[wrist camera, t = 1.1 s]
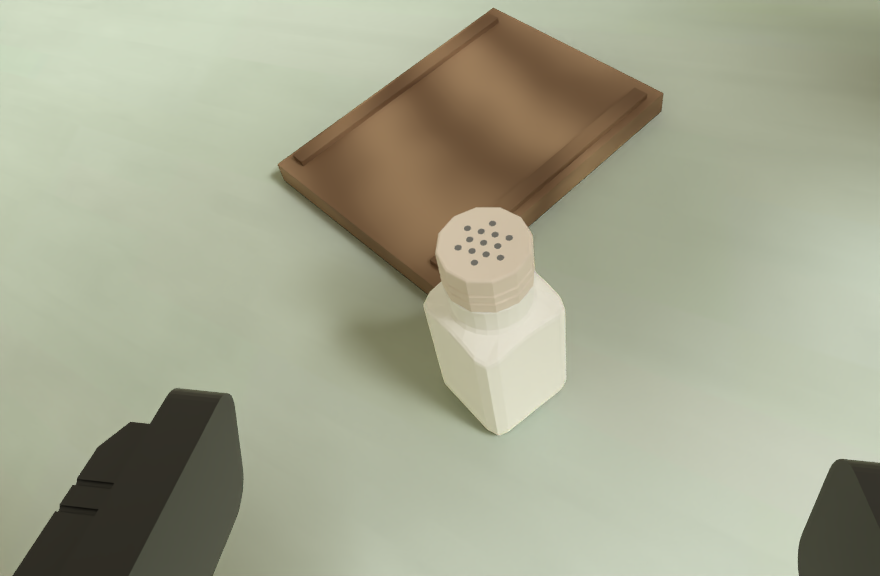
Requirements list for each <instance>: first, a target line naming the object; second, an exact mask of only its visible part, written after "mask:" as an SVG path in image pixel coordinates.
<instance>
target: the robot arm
mask: <svg viewBox="0 0 880 576" xmlns="http://www.w3.org/2000/svg"><path fill="white" fill-rule="evenodd" d="M242 491H243V466H242V459H241V451H240V443H239V436H238V428H237V420H236V413H235V406H234V401H233V398H232V396H231V395H230V394H228V393H219V392H209V391H199V390H190V389H180V388H176V389H173V390H172V391H171V392H170V393H169V394H168V396H167V397H166V399H165V400H164V402H163V404H162V405H161V407H160V408H159V410H158V412H157V413H156V415H155V417H154V418H153V420H152V422H151V423H150V424H145V423H136V422H130V423H128V424H127V425H126V426H125V427H123V428H122V429H121V430H119V431H118V432H117V433H116V434H114V435H113V436H112V437H110V438H109V439H108V440H106V441H105V442H104V443H103V444H101V445H100V446H99V447H98V448H97V449H96V451H95V452H94V454H93V455H92V457H91V458H90V460H89V461H88V463H87V464H86V466H85V467H84V469H83V470H82V472H81V473H80V475H79V476H78V478H77V483H76V485H72V487H71V488H70V490H69V491H68V493H67V494H66V496H65V497H64V499H63V500H62V502H61V503H60V509H59V511H58V512H56V511H55V513H54V514H53V516H52V517H51V519H50V520H49V522H48V523H47V525H46V526H45V528H44V529H43V531H42V532H41V534H40V535H39V537H38V538H37V540H36V541H35V543H34V544H33V546H32V547H31V549H30V550H29V552H28V553H27V555H26V556H25V558H24V559H23V561H22V562H21V564H20V565H19V567H18V568H17V570H16V571H15V573H14V575H13V576H213V573H214V571H215V568H216V566H217V563H218V561H219V559H220V556H221V554H222V551H223V549H224V547H225V544H226V542H227V539H228V537H229V534H230V532H231V530H232V527H233V525H234V522H235V520H236V517H237V514H238V511H239V507H240V503H241V498H242ZM798 571H799V576H880V463H876V462H866V461H856V460H847V459H839V460H836V461H835V462H834V463H833V464H832V466H831V468H830V470H829V472H828V474H827V476H826V479H825V481H824V483H823V486H822V488H821V491H820V493H819V495H818V498H817V500H816V502H815V505H814V507H813V509H812V512H811V514H810V516H809V519H808V521H807V524H806V526H805V528H804V531H803V533H802V536H801V539H800V543H799V549H798Z"/></svg>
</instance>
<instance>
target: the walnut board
mask: <svg viewBox="0 0 880 576" xmlns="http://www.w3.org/2000/svg"><path fill="white" fill-rule="evenodd" d="M662 101H663V93H662V92H660V91H658V90H656V89H654V88H652V87H650V86H648V85H646V84H644V83H642V82H640V81H638V80H636V79H634V78H632V77H630V76H628V75H626V74H624V73H622V72H620V71H618V70H616V69H614V68H612V67H610V66H608V65H606V64H604V63H602V62H600V61H598V60H596V59H594V58H592V57H590V56H588V55H586V54H584V53H582V52H580V51H578V50H576V49H574V48H572V47H570V46H568V45H566V44H564V43H562V42H560V41H558V40H556V39H554V38H552V37H550V36H549V35H547V34H545V33H543V32H541V31H539V30H537V29H535V28H533V27H531V26H529V25H527V24H525V23H523V22H521V21H519V20H517V19H515V18H513V17H511V16H509V15H507V14H505V13H503V12H501V11H499V10H497V9H495V8H492V9H491V10H490V11H488V12H487V13H486V14H484V15H483V16H481V17H480V18H479V19H477V20H476V21H475V22H473V23H472V24H470V25H469V26H468V27H466V28H465V29H464V30H462V31H461V32H459V33H458V34H457V35H455V36H454V37H452V38H451V39H450V40H448V41H447V42H446V43H444V44H443V45H441V46H440V47H439V48H437V49H436V50H435V51H433V52H432V53H430V54H429V55H428V56H426V57H425V58H424V59H422V60H421V61H419V62H418V63H417V64H415V65H414V66H412V67H411V68H410V69H408V70H407V71H406V72H404V73H403V74H401V75H400V76H399V77H397V78H396V79H395V80H393V81H392V82H390V83H389V84H388V85H386V86H385V87H384V88H382V89H381V90H379V91H378V92H377V93H375V94H374V95H372V96H371V97H370V98H368V99H367V100H366V101H364V102H363V103H361V104H360V105H359V106H357V107H356V108H355V109H353V110H352V111H350V112H349V113H348V114H346V115H345V116H344V117H342V118H341V119H339V120H338V121H337V122H335V123H334V124H332V125H331V126H330V127H328V128H327V129H326V130H324V131H323V132H321V133H320V134H319V135H317V136H316V137H315V138H313V139H312V140H310V141H309V142H308V143H306V144H305V145H304V146H302V147H301V148H299V149H298V150H297V151H295V152H294V153H292V154H291V155H290V156H288V157H287V158H286V159H284V160H283V161H281V162H280V163H279V164H278V166H279V169H280V171H281V173H282V176H283V178H284V180H285V181H286V182H287V183H288V184H290V185H291V186H292V187H293V188H295V189H296V190H297V191H299V192H300V193H301V194H302V195H304V196H305V197H306V198H307V199H309V200H310V201H311V202H312V203H314V204H315V205H316V206H317V207H319V208H320V209H321V210H322V211H324V212H325V213H326V214H327V215H329V216H330V217H331V218H332V219H334V220H335V221H336V222H337V223H339V224H340V225H341V226H342V227H344V228H345V229H346V230H347V231H349V232H350V233H351V234H353V235H354V236H355V237H356V238H358V239H359V240H360V241H361V242H363V243H364V244H365V245H366V246H368V247H369V248H370V249H371V250H373V251H374V252H375V253H376V254H378V255H379V256H380V257H381V258H383V259H384V260H385V261H386V262H388V263H389V264H390V265H391V266H393V267H394V268H395V269H396V270H398V271H399V272H400V273H402V274H403V275H404V276H405V277H407V278H408V279H409V280H410V281H412V282H413V283H414V284H415V285H417V286H418V287H419V288H420V289H422V290H423V291H424V292H425V293H427V294H429V292H430V291H431V290H432V289H433V288H435V287H436V286H437V285H438V284H439V283H440V282H441V277H440V273H439V269H438V268H439V267H438V264H437V260H436V255H435V251H436V245H437V239H438V234H439V232H440V231H441V230H442V229H443V228H444V227H445V226H446V224H447V223H448V222H449V221H450V220H451V219H452V218H453V217H454V216H456V215H458V214H461V213H463V212H466V211H468V210H471V209H473V208H475V207H500V208H502V209H504V210H507V211H509V212H511V213H513V214H515V215H517V216H519V217H521V218H522V219H523V221H524V222H525V224H526V225H527V227H529V226H530V225H531V224H532V223H533V222H534V221H536V220H537V219H538V218H539V217H540V216H541V215H543V214H544V213H545V212H546V211H547V210H548V209H549V208H551V207H552V206H553V205H554V204H555V203H556V202H557V201H559V200H560V199H561V198H562V197H563V196H564V195H566V194H567V193H568V192H569V191H570V190H571V189H572V188H574V187H575V186H576V185H577V184H578V183H579V182H580V181H582V180H583V179H584V178H585V177H586V176H587V175H589V174H590V173H591V172H592V171H593V170H594V169H595V168H597V167H598V166H599V165H600V164H601V163H602V162H604V161H605V160H606V159H607V158H608V157H609V156H610V155H612V154H613V153H614V152H615V151H616V150H617V149H618V148H620V147H621V146H622V145H623V144H624V143H625V142H627V141H628V140H629V139H630V138H631V137H632V136H633V135H635V134H636V133H637V132H638V131H639V130H640V129H641V128H643V127H644V126H645V125H646V124H647V123H648V122H650V121H651V120H652V119H653V118H654V117H655V116H656V115H658V114H659V113H660V112H661V110H662Z"/></svg>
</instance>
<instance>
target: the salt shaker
mask: <svg viewBox="0 0 880 576" xmlns="http://www.w3.org/2000/svg"><path fill="white" fill-rule="evenodd" d="M533 249H534V246H533V235H532V233H531V232H530V230H529V228H528V227H527V225H526V224H525V222H524V221H523V219H522V218H521V217H519V216H517V215H515V214H513V213H511V212H509V211H507V210H504V209H502V208H500V207H475V208H473V209H471V210H468V211H466V212H463V213H461V214H458V215H456V216H454V217H453V218H452V219H451V220H450V221H449V222H448V223H447V224H446V226H445V227H444V228H443V229H442V230H441V231H440V232H439V234H438V239H437V245H436V251H435V255H436V260H437V264H438V267H439V268H438V269H439V273H440V277H441V282H440V283H439V284H438V285H437V286H436V287H435V288H433V289H432V290H431V291H430V292H429V294H428V296H427V298H426V300H425V302H424V304H423V307H424V310H425V314H426V318H427V322H428V325H429V329H430V333H431V336H432V340H433V344H434V347H435V351H436V355H437V359H438V362H439V366H440V370H441V373H442V377H443V380H444V383H445V384H446V386H447V387H448V388H449V389H450V390H451V391H452V392H453V393H454V394H455V395H456V396H457V397H458V398H459V400H460V401H461V402H462V403H463V404H464V405H465V406H466V407H467V408H468V409H469V410H470V411H471V413H472V414H473V415H474V416H475V417H476V418H477V419H478V420H479V421H480V422H481V423H482V424H483V425H484V427H485V428H486V429H487V430H489V431H491V432H493V433H495V434H497V435H498V436H500V435H502V434H505V433H507V432H509V431H510V430H511V429H512V428H514V427H515V426H516V425H517V424H519V423H520V422H521V421H522V420H524V419H525V418H526V417H527V416H529V415H530V414H531V413H532V412H534V411H535V410H536V409H537V408H539V407H540V406H541V405H542V404H544V403H545V402H546V401H547V400H549V399H550V398H551V397H552V396H554V395H555V394H556V393H557V392H559V391H560V390H561V389H562V388H563V386H564V384H565V382H566V322H565V308H564V305H563V302H562V300H561V297H560V296H559V295H558V294H557V293H556V291H555V290H554V289H553V288H552V287H551V286H550V285H549V284H548V283H547V282H546V281H545V280H544V279H543V278H542V277H541V276H540V275H538V274H537V273H536V272H535V261H534V250H533Z"/></svg>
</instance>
